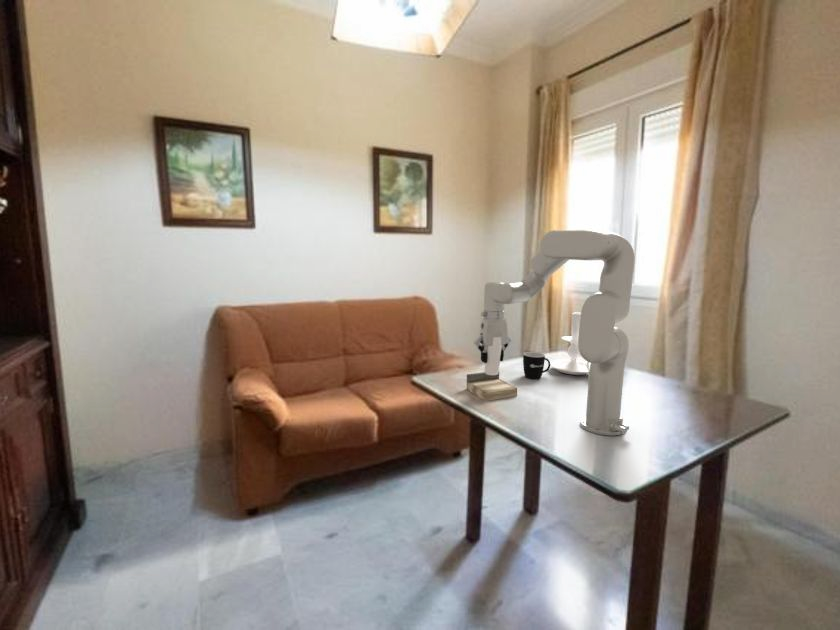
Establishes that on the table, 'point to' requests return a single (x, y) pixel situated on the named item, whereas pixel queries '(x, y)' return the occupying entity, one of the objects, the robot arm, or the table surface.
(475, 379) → the dock
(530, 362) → the mug
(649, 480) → the table surface
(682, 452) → the table surface
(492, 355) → the white tapered cup
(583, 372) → the candlestick
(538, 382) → the table surface
